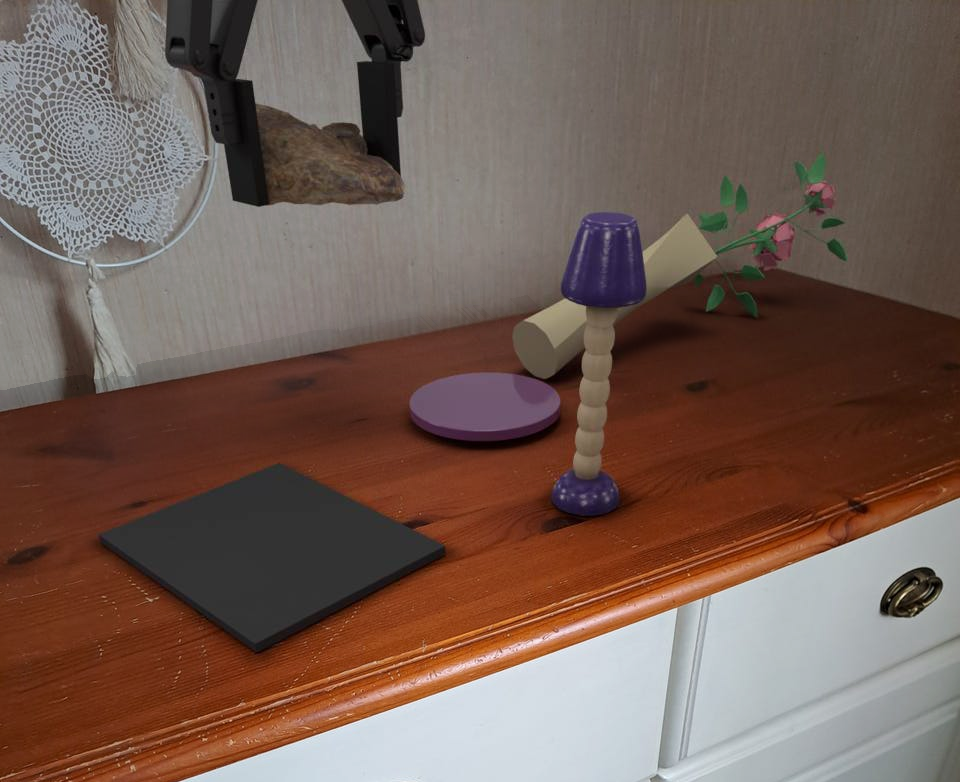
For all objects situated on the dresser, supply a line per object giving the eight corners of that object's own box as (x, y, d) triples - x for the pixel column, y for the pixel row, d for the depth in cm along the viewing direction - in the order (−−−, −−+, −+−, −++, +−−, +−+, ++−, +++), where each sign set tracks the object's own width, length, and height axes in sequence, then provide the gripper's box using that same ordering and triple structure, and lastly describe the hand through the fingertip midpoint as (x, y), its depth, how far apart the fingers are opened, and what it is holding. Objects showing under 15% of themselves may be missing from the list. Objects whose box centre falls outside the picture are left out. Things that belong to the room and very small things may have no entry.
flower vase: (524, 445, 85) (765, 274, 99) (622, 450, 75) (874, 260, 89) (473, 316, 79) (736, 154, 93) (572, 304, 70) (848, 125, 83)
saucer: (379, 419, 71) (378, 401, 70) (484, 378, 78) (483, 361, 77) (486, 464, 65) (486, 444, 64) (591, 415, 71) (592, 397, 70)
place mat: (100, 542, 57) (97, 533, 57) (280, 470, 65) (279, 462, 64) (256, 653, 48) (254, 643, 48) (445, 554, 56) (445, 545, 55)
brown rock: (271, 220, 56) (258, 125, 53) (213, 182, 65) (199, 98, 62) (420, 200, 60) (415, 109, 57) (345, 166, 69) (338, 86, 66)
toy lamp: (623, 484, 62) (644, 205, 52) (633, 519, 58) (659, 226, 49) (548, 485, 62) (556, 207, 52) (554, 521, 58) (564, 228, 49)
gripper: (101, -337, 40) (201, 230, 53) (478, -275, 53) (484, 168, 66) (19, -308, 44) (130, 211, 57) (387, -258, 58) (409, 155, 71)
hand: (320, 188), depth 62 cm, fingers closed on brown rock, 10 cm apart
